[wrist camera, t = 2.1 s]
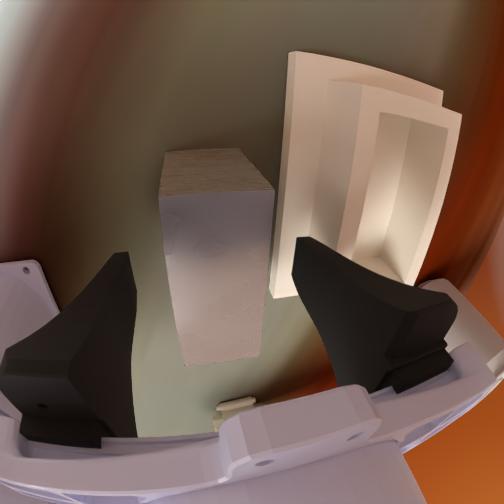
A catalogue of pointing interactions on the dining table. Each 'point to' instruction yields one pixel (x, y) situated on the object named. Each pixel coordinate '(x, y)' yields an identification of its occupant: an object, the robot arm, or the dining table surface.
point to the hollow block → (360, 166)
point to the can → (471, 330)
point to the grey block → (216, 251)
